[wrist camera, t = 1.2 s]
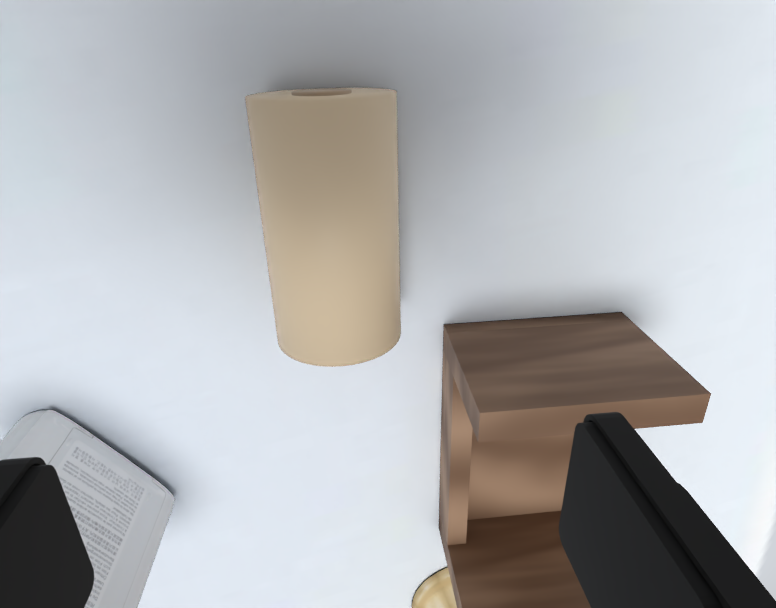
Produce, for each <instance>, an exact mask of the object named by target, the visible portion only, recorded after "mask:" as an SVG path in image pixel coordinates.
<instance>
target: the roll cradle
mask: <svg viewBox="0 0 776 608" xmlns="http://www.w3.org/2000/svg"><path fill="white" fill-rule="evenodd" d="M710 395H711V393H710V392H709V391H707V390H706V389H705V388H704V387H703V386H702V385H701V384H700V383H699V382H698V381H697V380H695V379H694V378H693V377H692V376H691V375H690V374H689V373H688V372H687V371H686V370H684V369H683V368H682V367H681V366H680V365H679V364H678V363H677V362H676V361H675V360H674V359H672V358H671V357H670V356H669V355H668V354H667V353H666V352H665V351H664V350H663V349H661V348H660V347H659V346H658V345H657V344H656V343H655V342H654V341H653V340H652V339H651V338H649V337H648V336H647V335H646V334H645V333H644V332H643V331H642V330H641V329H640V328H639V327H637V326H636V325H635V324H634V323H633V322H632V321H631V320H630V319H629V318H628V317H626V316H625V315H624V314H623V313H622V312H616V313H602V314H588V315H573V316H559V317H545V318H531V319H516V320H502V321H488V322H474V323H459V324H445V325H444V333H443V375H442V416H441V457H440V499H439V530H440V535H441V539H442V544H443V548H444V552H445V557H446V561H447V566H448V570H449V574H450V579H451V583H452V588H453V592H454V596H455V601H456V605H457V608H591V606H590V604H589V602H588V600H587V598H586V596H585V593H584V591H583V589H582V587H581V585H580V583H579V580H578V578H577V576H576V574H575V572H574V570H573V568H572V565H571V563H570V561H569V559H568V557H567V555H566V552H565V550H564V548H563V546H562V543H561V540H560V535H559V521H560V515H561V509H562V503H563V497H564V491H565V485H566V479H567V473H568V467H569V461H570V455H571V449H572V443H573V437H574V431H575V427H576V425H577V423H583V421H584V418H585V416H586V415H588V414H596V413H609V412H619V413H621V414H622V415H623V416H624V417H625V418H626V420H627V421H628V422H629V423H630V425H631V426H632V427H633V428H634V429H636V428H648V427H659V426H670V425H682V424H693V423H702V422H703V419H704V416H705V412H706V409H707V406H708V402H709V399H710Z"/></svg>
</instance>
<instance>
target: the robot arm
mask: <svg viewBox="0 0 776 608" xmlns="http://www.w3.org/2000/svg"><path fill="white" fill-rule="evenodd" d="M559 535H560V540H561V543H562V546H563V548H564V550H565V552H566V555H567V557H568V559H569V561H570V563H571V565H572V568H573V570H574V572H575V574H576V576H577V578H578V580H579V583H580V585H581V587H582V589H583V591H584V593H585V596H586V598H587V600H588V602H589V604H590V606H591V608H776V601H775V600H774V598H773V597H772V596H771V595H770V593H769V592H768V591H767V590H766V589H765V587H764V586H763V585H762V583H761V582H760V581H759V580H758V578H757V577H756V576H755V575H754V574H753V572H752V571H751V570H750V569H749V567H748V566H747V565H746V564H745V562H744V561H743V560H742V559H741V557H740V556H739V555H738V554H737V552H736V551H735V550H734V549H733V547H732V546H731V545H730V544H729V542H728V541H727V540H726V539H725V537H724V536H723V535H722V534H721V532H720V531H719V530H718V529H717V528H716V526H715V525H714V524H713V523H712V521H711V520H710V519H709V518H708V516H707V515H706V514H705V513H704V511H703V510H702V509H701V508H700V506H699V505H698V504H697V503H696V501H695V500H694V499H693V498H692V496H691V495H690V494H689V493H688V491H687V490H686V489H684V488H683V487H682V486H681V485H680V484H678V483H677V482H676V481H675V480H674V479H673V477H672V476H671V475H670V474H669V472H668V471H667V470H666V469H665V467H664V466H663V465H662V464H661V462H660V461H659V460H658V458H657V457H656V456H655V455H654V453H653V452H652V451H651V450H650V448H649V447H648V446H647V445H646V443H645V442H644V441H643V440H642V438H641V437H640V436H639V435H638V433H637V432H636V431H635V430H634V428H633V427H632V426H631V425H630V423H629V422H628V421H627V420H626V418H625V417H624V416H623V415H622V414H621V413H619V412H609V413H596V414H588V415H586V416H585V418H584V421H583V423H577V425H576V427H575V431H574V437H573V443H572V449H571V455H570V461H569V467H568V473H567V479H566V485H565V491H564V497H563V503H562V509H561V515H560V521H559ZM93 584H94V569H93V566H92V564H91V561H90V558H89V556H88V553H87V550H86V548H85V545H84V543H83V540H82V537H81V535H80V532H79V529H78V527H77V524H76V522H75V519H74V516H73V514H72V511H71V509H70V506H69V503H68V501H67V498H66V495H65V493H64V490H63V488H62V485H61V482H60V480H59V477H58V474H57V472H56V470H55V468H54V467H53V466H52V465H46V463H45V461H44V460H43V459H42V458H40V457H29V458H16V459H3V460H1V461H0V608H84V607H85V605H86V603H87V600H88V598H89V596H90V594H91V591H92V588H93Z"/></svg>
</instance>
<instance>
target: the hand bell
mask: <svg viewBox="0 0 776 608" xmlns="http://www.w3.org/2000/svg"><path fill="white" fill-rule="evenodd" d="M412 608H457V605H456V601H455V596H454V592H453V588H452V583H451V579H450V574H449V570H448V567H447V568H445V569H443V570H441V571H439V572H437V573H436V574H434V575H433V576H431V577H429V578H428V579H427V580H426V581H425V582H424V583H423V584H422V585H421V586H420V587H419V588H418V590H417V591H416V593H415V595H414V598H413V602H412Z"/></svg>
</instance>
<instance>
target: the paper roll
mask: <svg viewBox="0 0 776 608" xmlns="http://www.w3.org/2000/svg"><path fill="white" fill-rule="evenodd" d="M245 100H246V108H247V115H248V123H249V130H250V138H251V145H252V152H253V160H254V167H255V175H256V182H257V190H258V197H259V204H260V212H261V219H262V227H263V234H264V242H265V249H266V256H267V264H268V271H269V279H270V286H271V294H272V301H273V308H274V316H275V323H276V331H277V338H278V344H279V347H280V348H281V350H282V351H283V352H284V353H285V354H286V355H288V356H289V357H291V358H292V359H294V360H297V361H299V362H303V363H306V364H311V365H316V366H332V367H333V366H347V365H354V364H359V363H363V362H366V361H369V360H372V359H375V358H377V357H379V356H381V355H383V354H385V353H386V352H388V351H389V350H391V349H392V348H393V347H394V346H395V345H396V343H397V342H398V341H399V338H400V334H401V321H400V261H399V201H398V141H397V91H395V90H391V89H382V88H317V89H295V90H282V91H271V92H263V93H256V94H251V95H248V96H246V97H245Z"/></svg>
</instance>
